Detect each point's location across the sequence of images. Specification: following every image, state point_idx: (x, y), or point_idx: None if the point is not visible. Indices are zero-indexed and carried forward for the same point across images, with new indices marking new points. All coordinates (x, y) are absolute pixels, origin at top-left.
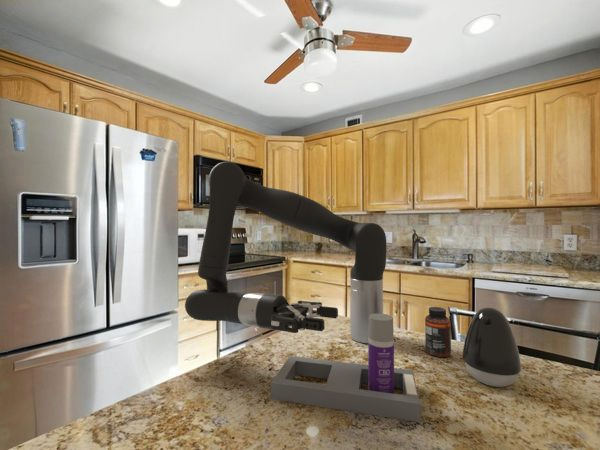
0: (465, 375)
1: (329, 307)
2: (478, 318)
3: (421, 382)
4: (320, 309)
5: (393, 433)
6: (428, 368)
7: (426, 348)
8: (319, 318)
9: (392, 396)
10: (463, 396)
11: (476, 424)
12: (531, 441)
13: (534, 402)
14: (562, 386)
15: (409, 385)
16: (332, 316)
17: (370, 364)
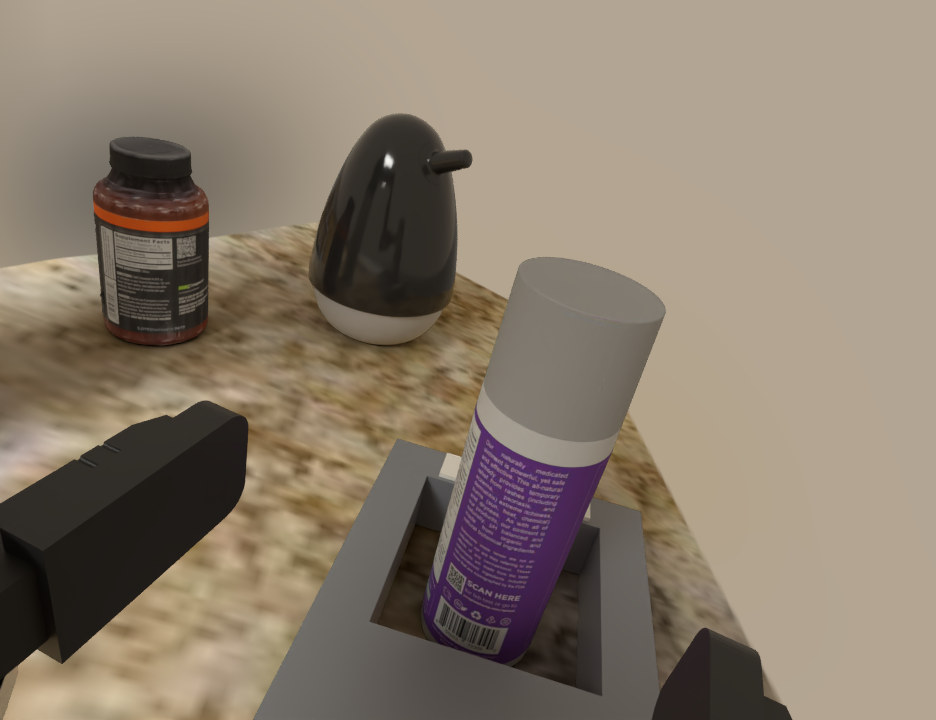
0: (338, 349)
1: (155, 456)
2: (412, 159)
3: (370, 454)
4: (24, 591)
5: None
6: (269, 396)
7: (137, 330)
8: (713, 672)
9: (621, 573)
10: (457, 406)
11: None
12: None
13: (472, 327)
14: None
15: None
16: (202, 521)
17: (547, 555)
